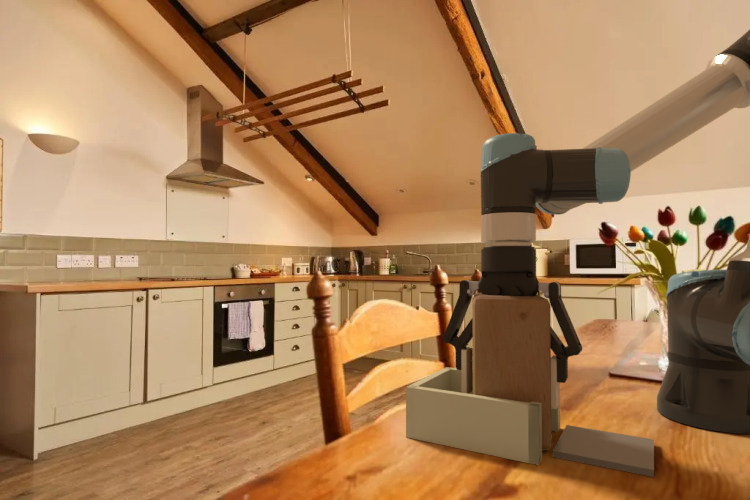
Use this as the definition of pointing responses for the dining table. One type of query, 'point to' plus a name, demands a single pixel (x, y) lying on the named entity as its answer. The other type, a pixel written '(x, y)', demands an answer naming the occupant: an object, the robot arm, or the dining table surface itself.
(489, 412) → the crate
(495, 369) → the wooden block
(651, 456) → the trivet
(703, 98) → the robot arm
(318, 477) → the dining table surface
